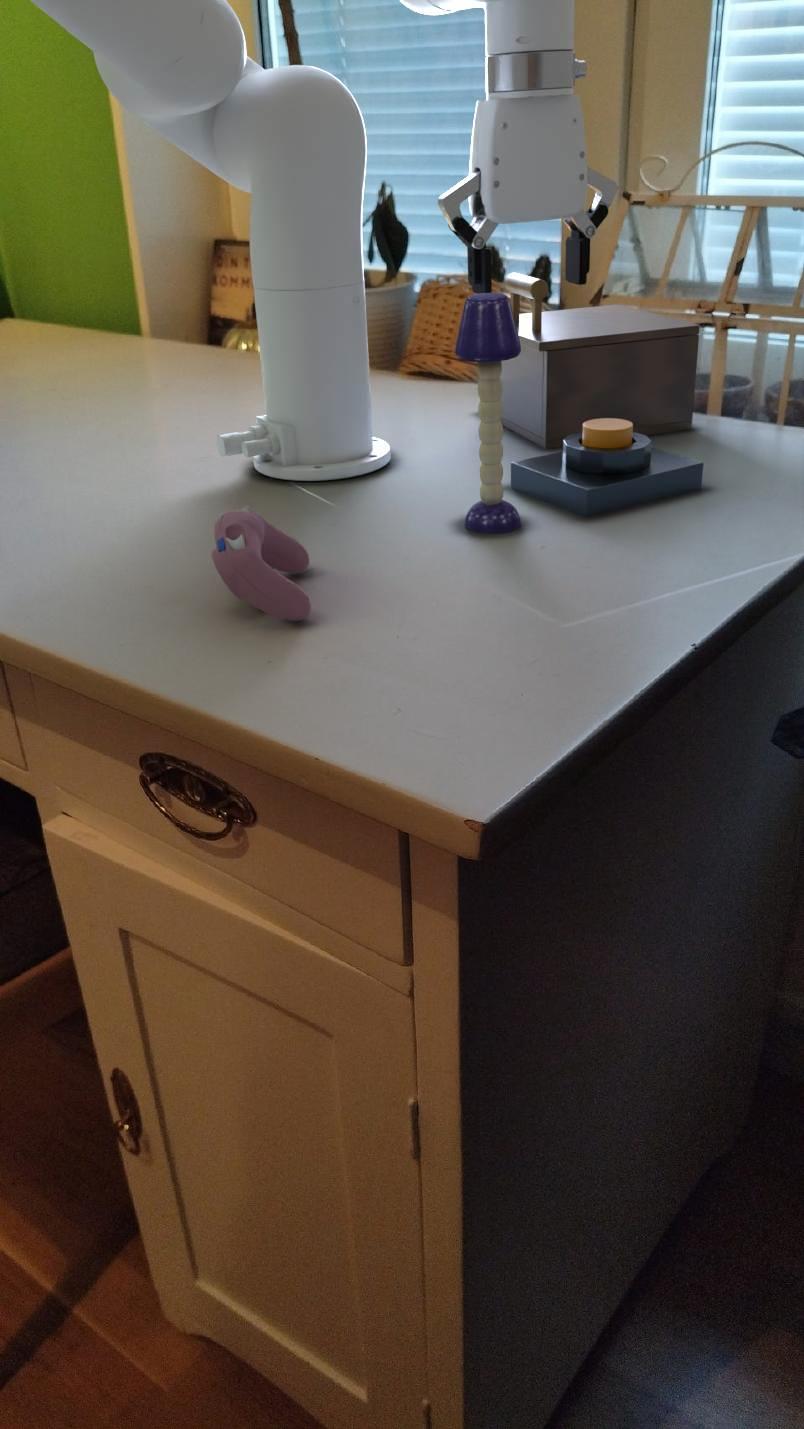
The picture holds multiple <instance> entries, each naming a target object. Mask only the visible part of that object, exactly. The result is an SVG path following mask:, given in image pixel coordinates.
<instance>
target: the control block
mask: <svg viewBox="0 0 804 1429" xmlns="http://www.w3.org/2000/svg"><path fill="white" fill-rule="evenodd" d="M652 443H653V441H652V440H651V439H650V438H649V436H648V435H642V434H639V433H635V432H633V434H632V445H629V446H625V447H620V448H597V447H588V446H585V445H582V432H580V433H575V434H571V435H570V436H568V437H567V438H565V439H564V440H563V446H562V451H558V452H553V453H548V454H544V455H538V456H534V457H530V458H525V459H521V460H516V461H512V462H510V488H511V489H512V490H515V491H518V492H521V493H524V494H526V495H527V496H531V497H533V498H536V499H538V500H541V501H543V502H546V503H549V504H551V505H554V506H556V507H559V508H561V509H564V510H567V511H569V512H571V513H574V514H575V515H579V516H582V517H584V518H591V517H595V516H599V515H602V514H603V515H604V514H606V513H610V512H615V511H618V510H622V509H623V510H624V509H626V508H630V507H636V506H638V505H642V504H646V503H651V502H655V501H658V500H662V499H667V498H670V497H674V496H678V495H682V494H686V493H690V492H694V491H698V490H701V489H702V486H703V476H704V464H705V463H704V462H702V461H699V460H695V459H692V458H689V457H685V456H682V455H680V454H679V455H678V454H675V453H672V452H668V451H665V450H662V449H658V448H655V447H653V446H652V445H653V444H652Z"/></svg>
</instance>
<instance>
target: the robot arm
mask: <svg viewBox="0 0 804 1429" xmlns="http://www.w3.org/2000/svg"><path fill="white" fill-rule="evenodd" d="M29 1H30V3H32V4H34V5H35V6H36V7H37V8H39V9H40V11H42V12H44V13H45V14H46V15H47V16H49V17H50V18H51V19H52V20H54V21H55V22H56V23H57V24H59V26H61V27H62V28H63V29H64V30H65V31H67V33H69V34H70V35H71V36H73V37H74V38H75V39H77V40H78V41H79V42H81V43H82V44H83V45H85V46H86V47H87V48H88V49H90V50H91V51H92V53H93V58H94V61H95V65H96V68H97V71H98V74H99V76H100V77H101V80H102V81H103V83H104V85H105V87H106V88H107V89H108V91H109V92H110V94H111V95H112V96H113V97H114V98H115V100H117V102H119V104H120V105H122V107H124V108H125V110H127V111H128V112H129V113H130V114H132V115H133V116H134V117H135V118H136V119H138V120H139V121H141V122H142V123H143V124H145V125H146V126H147V127H149V128H150V129H152V130H153V131H154V132H156V133H157V134H159V136H161V137H162V138H164V139H165V140H166V141H168V142H170V144H172V145H173V146H175V147H177V148H178V149H180V150H181V151H182V152H183V153H184V154H186V155H188V157H190V158H192V159H193V160H195V161H196V162H197V163H198V164H200V165H201V166H203V167H204V168H206V169H207V170H209V171H210V172H211V173H213V174H214V175H216V176H217V177H218V178H220V179H221V180H223V181H224V182H226V183H228V184H229V185H231V186H232V187H234V188H235V189H237V190H240V191H242V192H246V193H248V194H251V195H250V209H249V210H250V211H249V212H250V213H249V235H248V236H249V258H250V272H251V281H252V287H253V296H254V297H253V298H254V307H255V316H256V317H255V318H256V327H257V338H258V348H259V358H260V368H261V376H262V377H261V378H262V387H263V396H264V397H263V399H264V407H265V414H261V415H256V416H255V422H256V424H255V425H252V426H249V427H248V430H247V431H242V432H238V431H236V432H230V433H229V432H228V433H224V434H218V435H217V436H216V447H217V450H218V453H219V455H220V457H222V458H226V457H231V456H237V455H241V454H242V455H243V457H244V458H246V459H247V458H251V457H253V458H252V459H253V466H254V469H255V470H256V471H257V472H258V473H259V474H262V475H264V476H266V477H270V478H274V479H279V480H285V481H287V480H288V481H297V482H298V481H300V482H301V481H303V482H305V481H306V482H315V481H317V482H318V481H330V480H331V481H334V480H342V479H348V478H353V477H358V476H362V475H366V474H370V473H372V472H375V471H377V470H379V469H381V468H383V467H385V466H386V465H387V464H388V463H390V461H391V458H392V455H391V454H392V453H391V446H390V445H389V443H388V442H386V441H384V440H383V439H380V438H377V437H375V436H374V433H373V432H374V430H373V414H372V413H373V412H372V396H371V394H372V393H371V378H370V376H371V375H370V359H369V356H370V355H369V339H368V322H367V320H368V319H367V303H366V302H367V300H366V285H365V284H366V282H365V272H364V270H365V269H364V251H363V208H364V206H363V204H364V193H365V182H366V181H365V180H366V169H367V154H368V153H367V152H368V148H367V132H366V127H365V122H364V118H363V115H362V112H361V110H360V107H359V105H358V103H357V101H356V98H354V96H353V94H352V92H351V91H350V90H349V89H348V87H346V85H345V84H344V83H343V82H342V81H341V80H340V79H339V78H337V77H336V76H334V75H333V74H332V73H330V72H328V71H326V70H324V69H321V68H318V67H315V66H312V65H306V64H291V65H284V66H277V67H271V68H267V69H265V68H264V67H262V66H261V65H260V64H259V63H258V62H256V61H255V60H253V59H252V58H251V57H249V56H248V55H247V44H246V38H245V33H244V30H243V27H242V24H241V22H240V20H239V18H238V15H237V14H236V12H235V10H234V8H233V7H232V6H231V5H230V4H229V2H228V1H227V0H29ZM399 1H400V2H401V4H403V5H404V6H405V7H407V8H409V9H410V10H412V11H414V12H415V13H416V12H417V13H419V14H423V15H428V16H439V15H445V14H451V13H455V12H459V11H462V10H468V9H474V8H475V9H476V8H482V9H483V10H484V26H485V27H484V31H485V33H484V34H485V37H484V38H485V56H486V57H485V93H486V95H485V98H486V99H482V100H477V101H476V104H475V110H474V117H473V124H472V132H471V141H470V142H471V144H470V153H469V154H470V156H469V172H468V176H467V177H466V178H464V179H463V180H461V181H460V182H458V183H456V185H454V186H453V187H451V188H450V189H449V190H447V191H446V192H444V193H442V194H441V195H440V196H439V197H438V199H437V205H438V207H439V209H440V211H441V213H442V215H443V217H444V219H445V221H446V222H447V226H448V229H449V230H450V231H451V232H452V233H453V234H454V235H455V236H456V238H458V239H459V240H460V241H461V243H462V245H463V246H464V247H467V248H466V250H467V251H466V252H467V253H466V254H467V255H466V256H467V280H468V281H467V282H468V284H469V286H471V290H472V293H475V294H479V293H493V288H492V287H493V286H492V285H493V282H492V281H493V280H492V278H493V276H492V250H491V248H490V247H489V248H488V247H487V242H488V241H489V240H490V238H491V237H492V235H493V233H494V232H495V231H496V229H497V227H498V226H499V224H500V225H507V224H508V225H509V224H519V223H521V224H522V223H531V222H539V221H540V222H541V221H542V222H543V221H552V220H562V222H563V224H565V226H566V227H567V228H568V230H569V231H570V236H567V237H566V240H565V266H564V268H565V269H564V270H565V272H564V275H565V276H564V278H565V279H564V280H565V281H566V282H568V283H570V284H575V285H578V286H582V285H583V286H584V285H586V284H587V282H588V281H587V280H588V279H587V278H588V277H587V275H588V274H589V272H590V268H591V239H593V238H594V237H595V236H596V234H597V229H599V227H600V225H602V223H603V222H604V220H605V219H606V218H607V217H608V215H609V209H610V207H611V206H612V203H613V201H614V199H615V197H616V194H617V192H618V189H619V186H618V183H617V182H615V181H614V180H612V179H610V178H609V177H608V176H605V175H603V174H602V173H600V172H598V171H596V170H595V169H593V168H591V167H590V166H588V158H587V156H588V155H587V141H586V139H587V138H586V130H585V121H584V114H583V110H582V103H581V102H582V101H581V98H580V97H581V96H580V94H579V93H577V94H574V87H575V86H576V81H577V80H578V79H584V78H585V77H586V76H587V70H588V69H587V68H588V66H587V62H586V61H585V60H578V59H577V58H576V51H574V48H575V47H574V44H575V42H574V39H575V38H574V36H575V0H399ZM588 188H590V189H591V190H593V191H594V192H595V197H594V199H593V203H592V204H591V205H590V207H588V209H587V210H586V211H584V210H585V209H586V204H587V197H588ZM467 199H468V208H469V213H470V215H471V217H472V218H473V219H472V220H471V223H469V221H468V220H466V219H465V218H464V216H463V214H462V211H461V204H462V203H463V202H465V200H467Z"/></svg>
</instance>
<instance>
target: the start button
mask: <svg viewBox="0 0 804 1429" xmlns="http://www.w3.org/2000/svg"><path fill="white" fill-rule="evenodd" d="M632 434H633V423H632V422H630V421H627V420H624V419H616V418H600V419H593V420H589V421H586V422H584V423H583V430H582V445H585V446H588V447H597V448H620V447H625V446H629V445H632Z"/></svg>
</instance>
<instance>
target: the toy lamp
mask: <svg viewBox="0 0 804 1429" xmlns="http://www.w3.org/2000/svg"><path fill="white" fill-rule="evenodd" d="M458 328H459V329H458V332H457V338H456V343H455V349H454V353H455V358H457V359H458V360H460V361H463V362H469V363H476V373H477V376H478V377H479V380H478V383H477V396H478V398H479V400H480V401H479V402H478V407H477V414H478V418H479V420H480V423H479V426H478V437H479V441H480V444H479V448H478V457H479V461H480V466H479V472H478V473H479V478H480V481H481V484H480V488H479V497H480V499H481V500H479V501H477V502H476V503H474V504H473V505H471V507H470V508H469V509H468V511H467V513H466V515H465V520H464V526H465V528H466V529H467V530H469V531H472V532H474V533H477V534H487V535H495V534H496V535H497V534H505V533H509V532H513V531H515V530H517V529H518V528H520V526H521V518H520V515H519V511H518V510H517V508H516V507H515V506H514V505H513V504H512V503H510V502H509V501H507V500H504V499H503V497H504V486H503V483H502V481H503V477H504V467H503V464H502V460H503V456H504V447H503V444H502V440H503V436H504V426H503V425H502V423H501V421H500V419H501V417H502V412H503V407H502V403H501V401H500V397H501V395H502V383H501V380H500V378H499V377H500V375H501V372H502V362H501V361H505V360H509V359H512V358H515V357H517V356H518V355H519V354H520V352H521V345H520V340H519V336H518V332H517V328H516V324H515V320H514V316H513V312H512V309H511V301H510V299H509V297H508V295H506V294H504V293H502V292H491V293H479V294H477V293H475V294H470V295H469V296H468V297H466V299H465V301H464V305H463V309H462V313H461V318H460V323H459V327H458Z"/></svg>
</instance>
